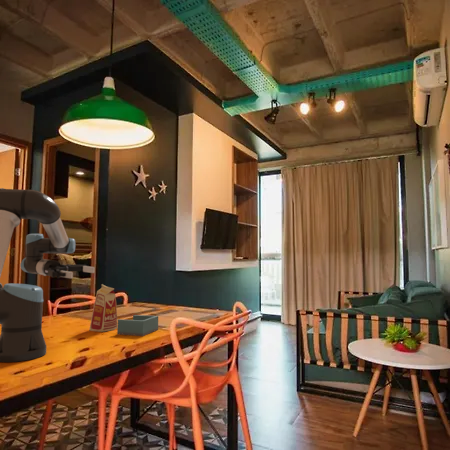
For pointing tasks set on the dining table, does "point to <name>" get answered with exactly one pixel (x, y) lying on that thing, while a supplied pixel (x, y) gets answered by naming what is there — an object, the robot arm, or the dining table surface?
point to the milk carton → (104, 310)
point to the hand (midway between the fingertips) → (83, 272)
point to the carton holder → (138, 325)
